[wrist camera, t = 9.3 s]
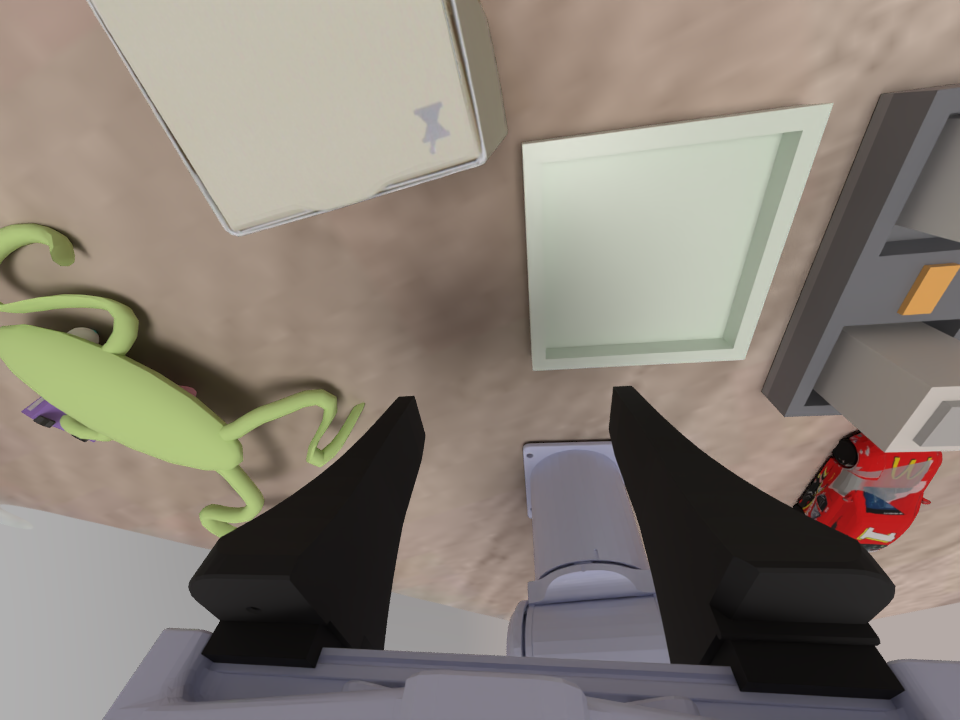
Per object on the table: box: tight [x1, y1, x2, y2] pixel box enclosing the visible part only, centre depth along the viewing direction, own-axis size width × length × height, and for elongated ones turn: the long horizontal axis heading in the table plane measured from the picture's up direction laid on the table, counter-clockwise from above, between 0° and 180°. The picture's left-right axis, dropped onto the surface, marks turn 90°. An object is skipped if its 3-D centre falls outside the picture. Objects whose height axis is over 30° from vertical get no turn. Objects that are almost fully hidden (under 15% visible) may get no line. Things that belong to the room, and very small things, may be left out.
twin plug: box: [813, 321, 960, 452], centre depth 18 cm, size 4×4×6 cm
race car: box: [793, 433, 942, 552], centre depth 27 cm, size 13×5×4 cm, turn 2°
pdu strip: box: [762, 84, 960, 417], centre depth 18 cm, size 16×7×3 cm, turn 7°
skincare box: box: [86, 0, 508, 237], centre depth 11 cm, size 6×4×12 cm
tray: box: [521, 103, 833, 371], centre depth 19 cm, size 12×12×2 cm
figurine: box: [0, 223, 365, 537], centre depth 26 cm, size 18×27×6 cm
